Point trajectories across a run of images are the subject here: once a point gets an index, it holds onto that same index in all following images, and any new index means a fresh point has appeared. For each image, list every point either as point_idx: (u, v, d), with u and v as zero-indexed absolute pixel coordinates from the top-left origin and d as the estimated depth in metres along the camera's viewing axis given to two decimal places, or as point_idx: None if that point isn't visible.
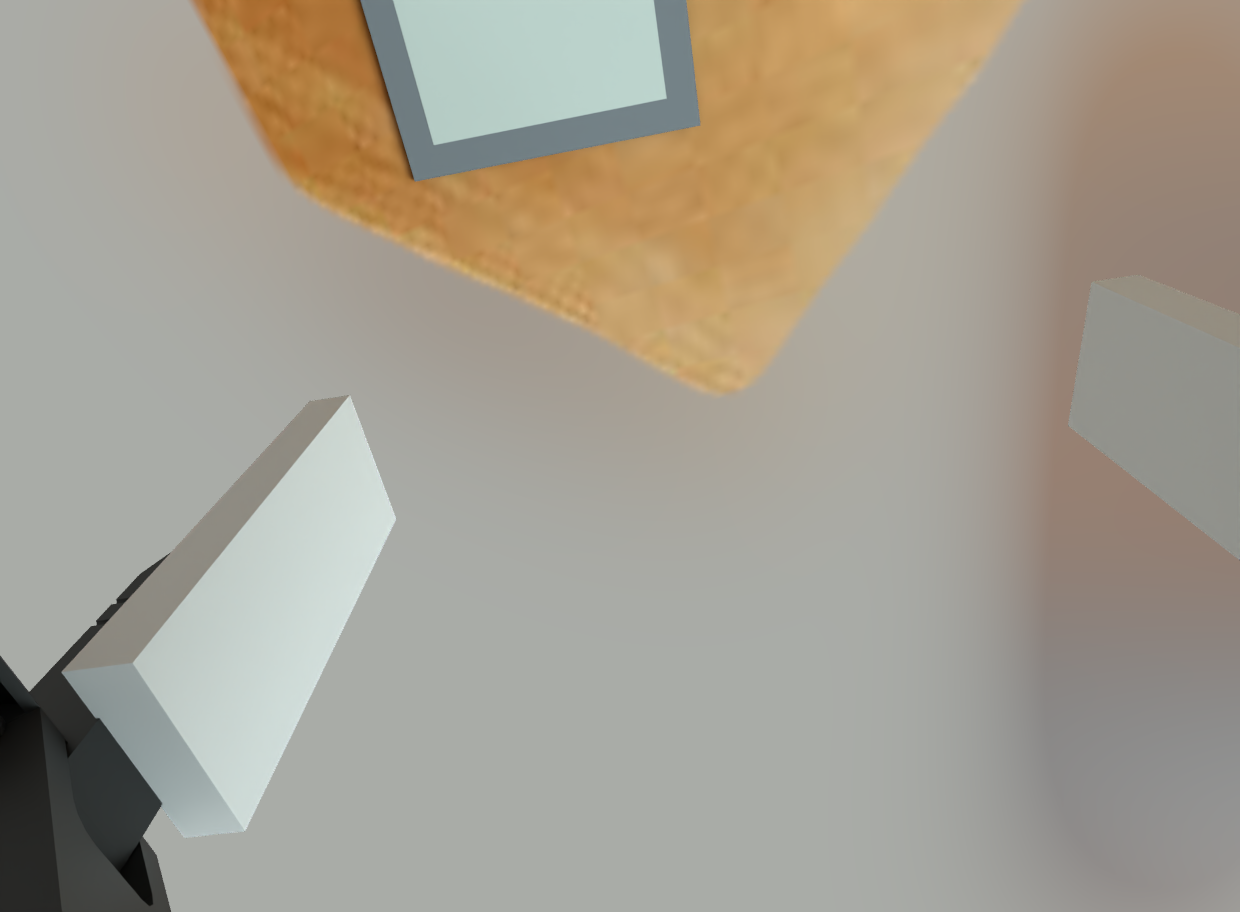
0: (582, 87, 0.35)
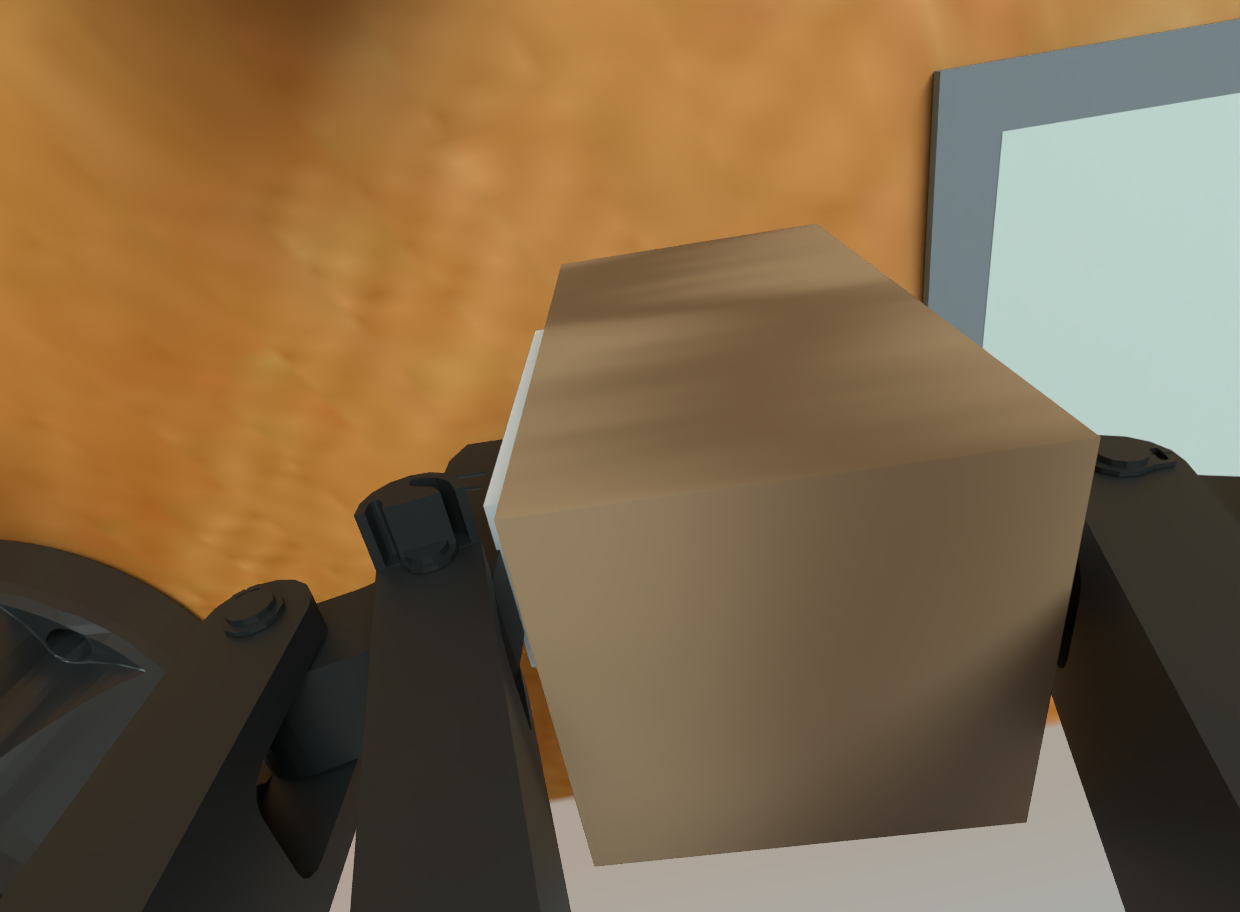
0: None
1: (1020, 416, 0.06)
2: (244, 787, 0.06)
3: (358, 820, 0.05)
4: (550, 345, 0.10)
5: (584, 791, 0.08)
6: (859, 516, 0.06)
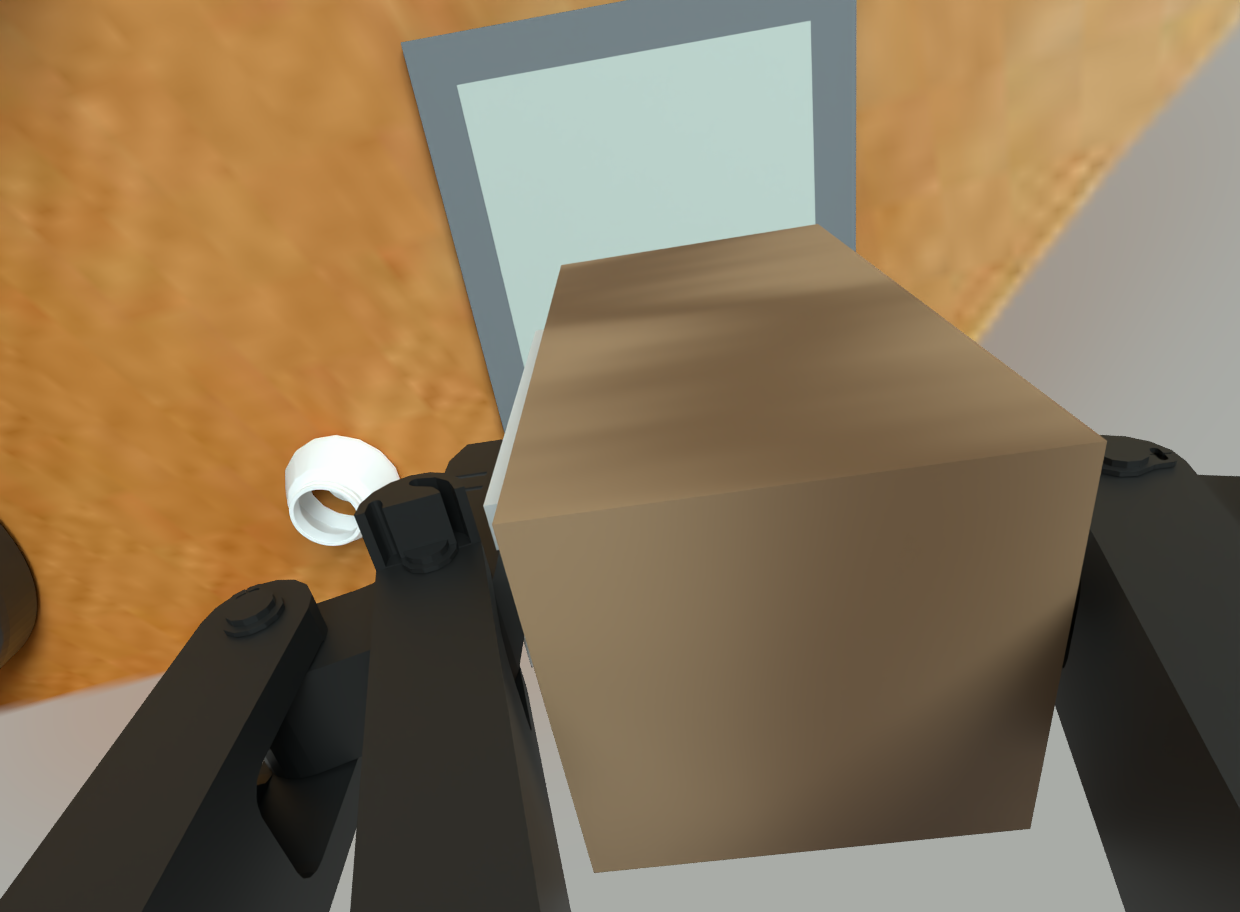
0: (779, 156, 0.25)
1: (1025, 419, 0.06)
2: (245, 787, 0.06)
3: (358, 820, 0.05)
4: (549, 346, 0.10)
5: (583, 798, 0.08)
6: (862, 522, 0.06)
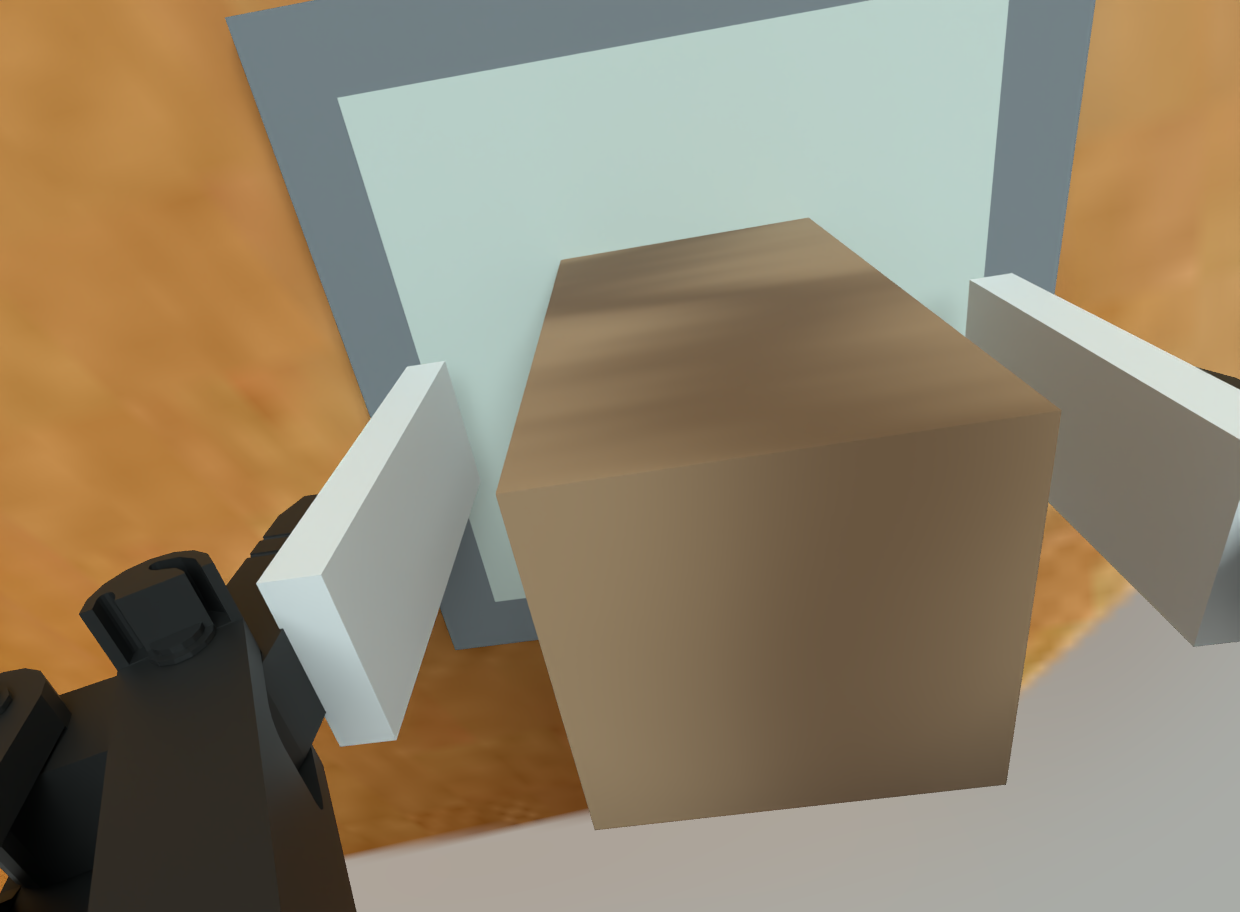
0: (927, 225, 0.14)
1: (989, 393, 0.07)
2: None
3: None
4: (549, 335, 0.10)
5: (584, 755, 0.08)
6: (837, 488, 0.06)
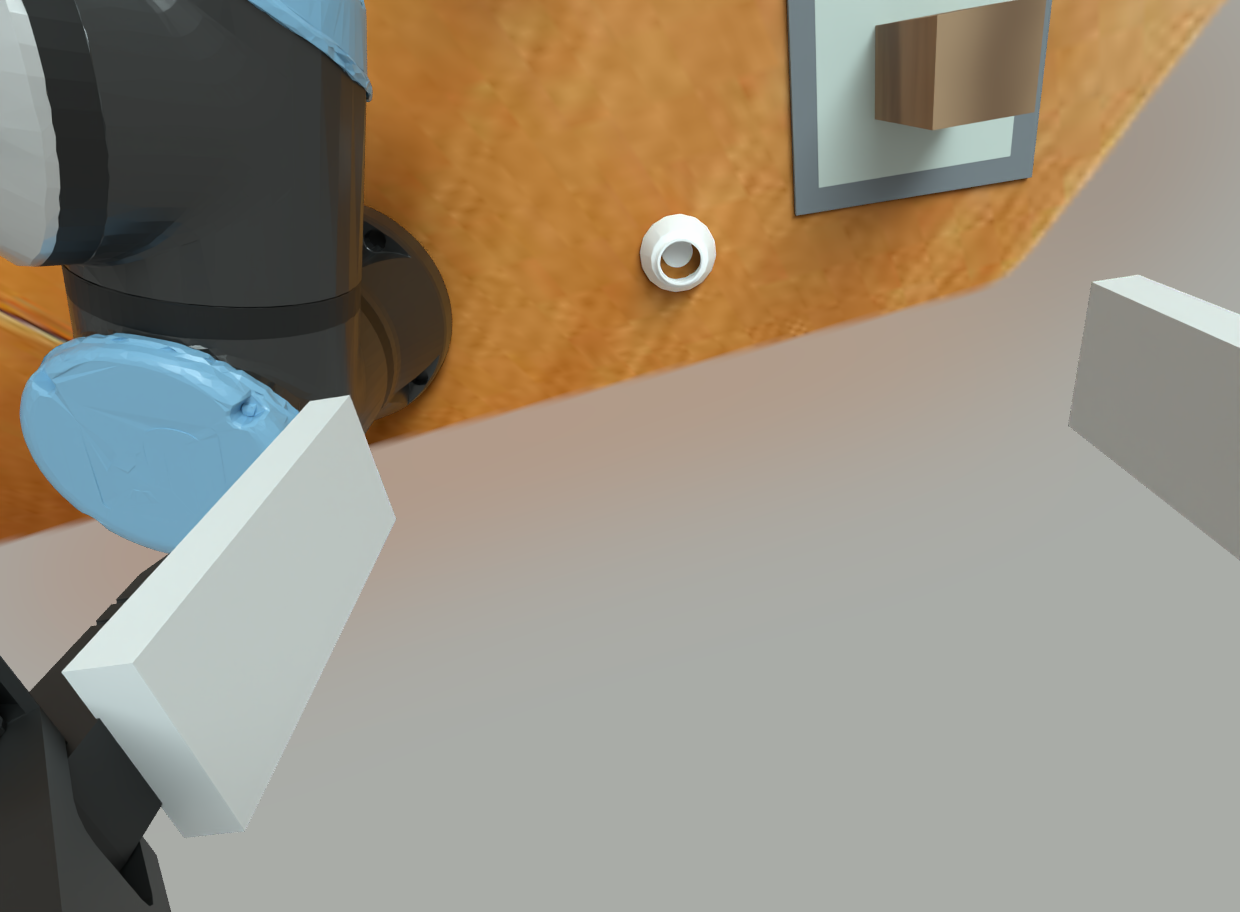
0: None
1: None
2: None
3: None
4: (907, 20, 0.37)
5: (936, 99, 0.35)
6: (1003, 14, 0.33)
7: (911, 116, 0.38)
